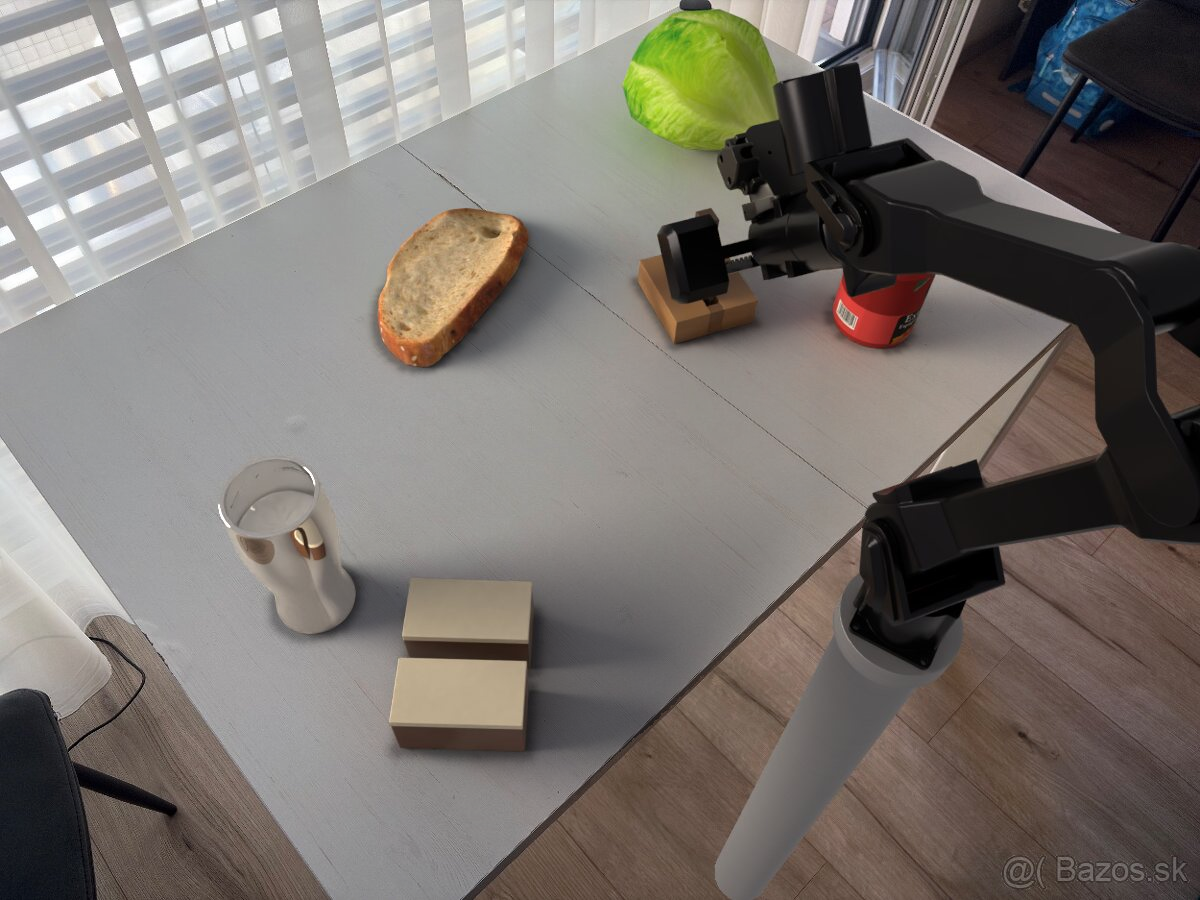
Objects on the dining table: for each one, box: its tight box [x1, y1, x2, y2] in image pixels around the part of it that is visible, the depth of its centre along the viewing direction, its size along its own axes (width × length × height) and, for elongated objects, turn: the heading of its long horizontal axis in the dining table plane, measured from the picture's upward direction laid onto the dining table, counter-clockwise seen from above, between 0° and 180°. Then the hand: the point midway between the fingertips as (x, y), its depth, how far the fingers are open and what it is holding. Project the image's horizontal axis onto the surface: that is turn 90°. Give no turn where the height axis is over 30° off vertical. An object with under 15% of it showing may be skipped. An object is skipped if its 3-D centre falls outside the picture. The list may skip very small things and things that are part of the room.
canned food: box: [832, 273, 936, 349], centre depth 91 cm, size 8×8×11 cm
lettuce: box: [621, 8, 780, 152], centre depth 107 cm, size 15×20×14 cm
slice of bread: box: [377, 207, 530, 368], centre depth 95 cm, size 18×18×4 cm
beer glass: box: [218, 454, 357, 635], centre depth 70 cm, size 7×7×15 cm
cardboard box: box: [637, 254, 759, 345], centre depth 95 cm, size 9×9×3 cm
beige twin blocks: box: [388, 577, 535, 752], centre depth 71 cm, size 9×11×5 cm
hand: (733, 245), depth 84 cm, fingers open, 9 cm apart
